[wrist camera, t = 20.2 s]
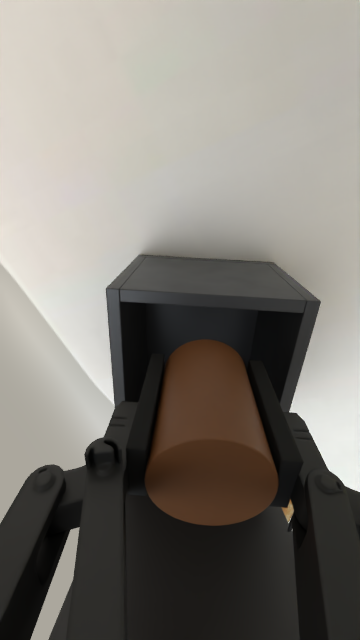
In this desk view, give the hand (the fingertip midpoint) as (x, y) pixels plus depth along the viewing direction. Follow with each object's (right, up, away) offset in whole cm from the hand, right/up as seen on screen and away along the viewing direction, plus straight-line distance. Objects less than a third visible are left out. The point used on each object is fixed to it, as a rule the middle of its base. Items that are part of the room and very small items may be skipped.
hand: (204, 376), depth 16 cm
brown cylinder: (0, 0, 0) cm, 0 cm away
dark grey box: (+1, +2, +11) cm, 11 cm away
